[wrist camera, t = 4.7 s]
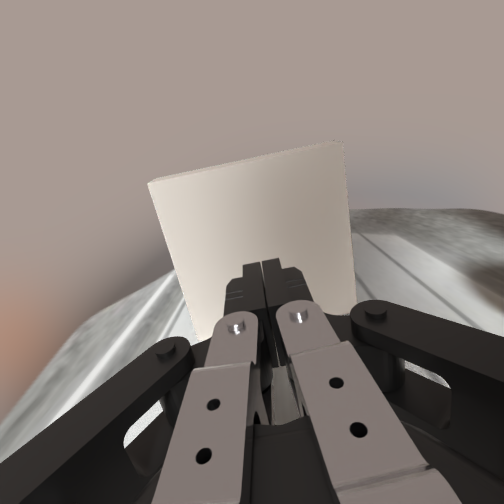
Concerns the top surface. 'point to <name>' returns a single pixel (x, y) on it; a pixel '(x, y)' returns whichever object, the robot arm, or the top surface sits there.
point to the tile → (259, 226)
